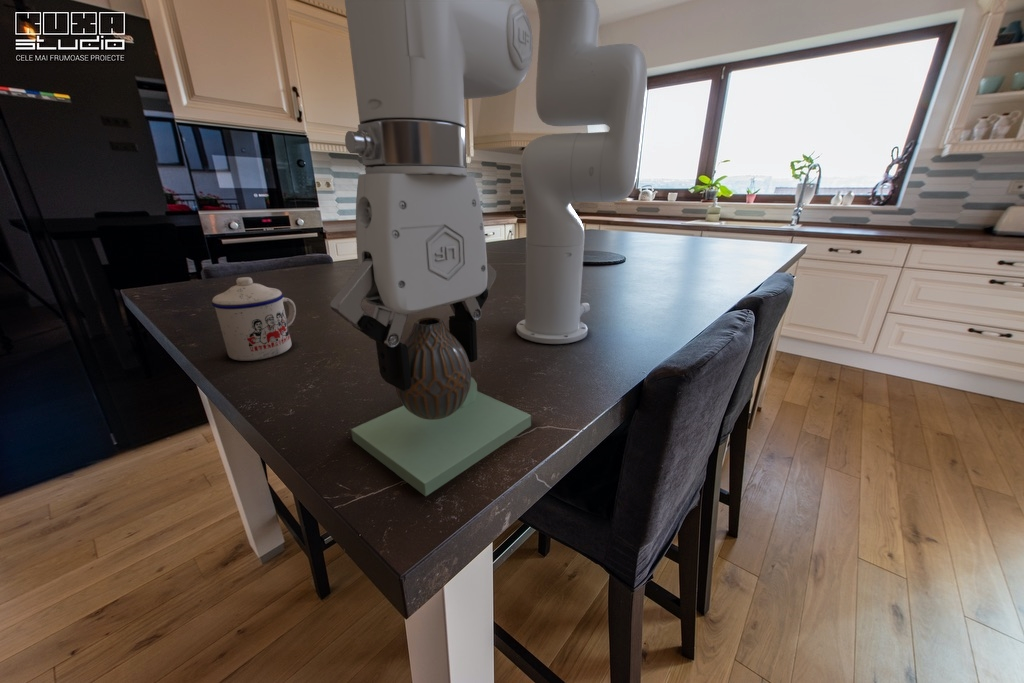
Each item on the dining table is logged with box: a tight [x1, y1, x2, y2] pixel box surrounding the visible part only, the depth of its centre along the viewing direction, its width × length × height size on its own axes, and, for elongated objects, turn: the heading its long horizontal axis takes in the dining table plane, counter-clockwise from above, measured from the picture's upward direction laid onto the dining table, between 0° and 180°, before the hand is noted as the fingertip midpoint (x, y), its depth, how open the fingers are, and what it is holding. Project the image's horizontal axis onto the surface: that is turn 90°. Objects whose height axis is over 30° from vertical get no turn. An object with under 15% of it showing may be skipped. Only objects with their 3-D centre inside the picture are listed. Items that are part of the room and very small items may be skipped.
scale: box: [350, 376, 532, 497], centre depth 41 cm, size 14×12×3 cm
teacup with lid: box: [211, 276, 297, 362], centre depth 62 cm, size 12×9×12 cm
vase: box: [394, 316, 472, 420], centre depth 36 cm, size 7×7×9 cm
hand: (432, 369), depth 36 cm, fingers closed on vase, 6 cm apart
